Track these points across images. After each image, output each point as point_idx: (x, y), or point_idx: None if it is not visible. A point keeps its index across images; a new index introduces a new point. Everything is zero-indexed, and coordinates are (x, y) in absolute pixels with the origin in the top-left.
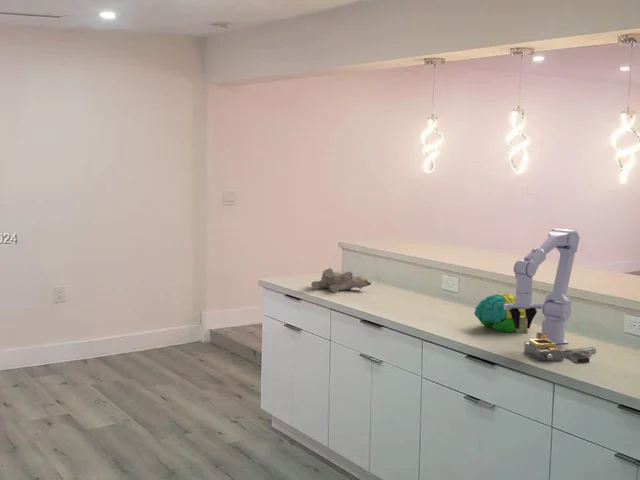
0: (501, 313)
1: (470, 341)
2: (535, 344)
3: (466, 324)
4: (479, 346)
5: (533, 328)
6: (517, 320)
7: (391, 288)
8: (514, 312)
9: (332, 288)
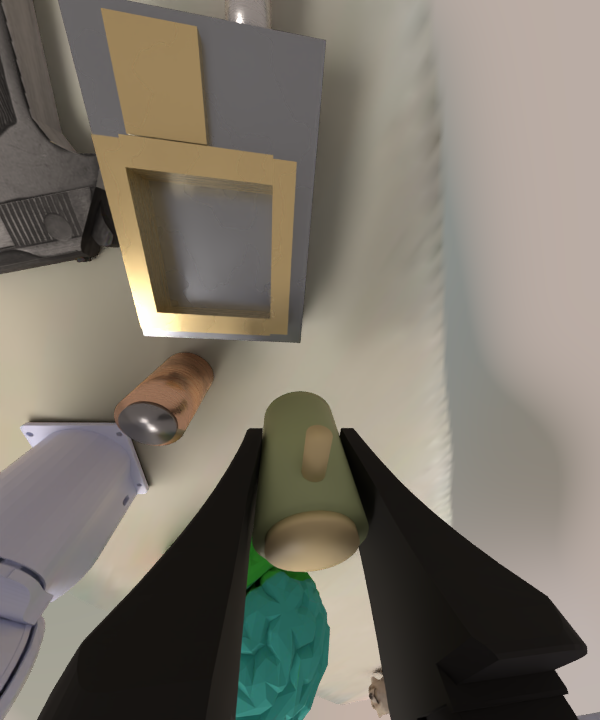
0: (261, 624)
1: (411, 466)
2: (293, 213)
3: (314, 577)
4: (427, 417)
5: (136, 561)
6: (394, 486)
7: (320, 682)
8: (565, 624)
9: None
